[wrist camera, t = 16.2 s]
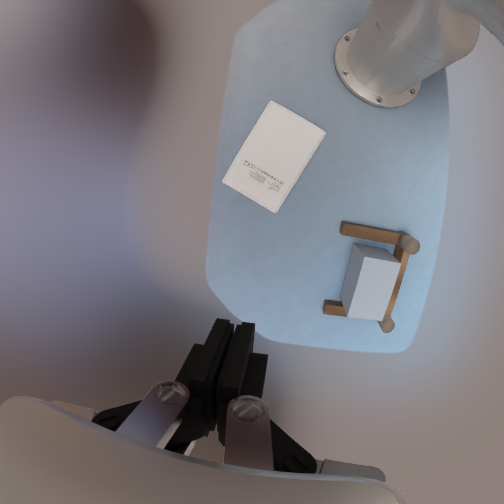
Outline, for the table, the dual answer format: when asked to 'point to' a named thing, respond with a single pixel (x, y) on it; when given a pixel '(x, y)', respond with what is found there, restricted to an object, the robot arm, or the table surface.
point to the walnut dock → (401, 253)
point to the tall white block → (369, 282)
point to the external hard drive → (273, 156)
